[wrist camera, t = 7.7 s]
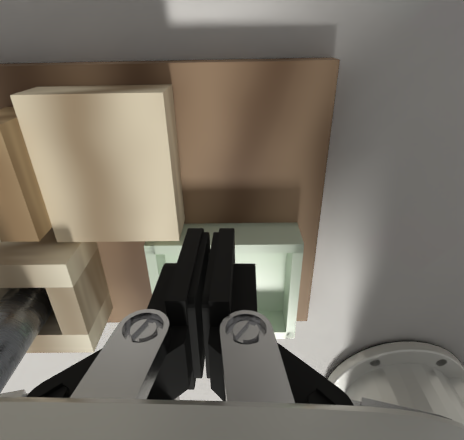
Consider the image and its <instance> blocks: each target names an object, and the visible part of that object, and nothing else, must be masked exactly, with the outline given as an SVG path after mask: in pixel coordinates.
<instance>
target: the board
mask: <svg viewBox="0 0 464 440" xmlns="http://www.w3.org/2000/svg"><path fill="white" fill-rule="evenodd" d="M339 61H340V60H338V59H335V58H279V59H225V60H171V61H117V62H64V63H10V64H0V240H1V242H34V241H40V240H41V239H42V238H43V237H44V236H45V235H46V234H47V232H48V231H49V230H50V229H51V228H52V225H51V222H50V218H49V215H48V212H47V209H46V206H45V203H44V200H43V197H42V194H41V190H40V187H39V184H38V181H37V178H36V175H35V172H34V169H33V166H32V162H31V159H30V156H29V153H28V150H27V147H26V144H25V141H24V138H23V135H22V131H21V128H20V125H19V122H18V119H17V116H16V113H15V110H14V107H13V103H12V100H11V97H10V95H12V94H15V93H18V92H22V91H25V90H28V89H32V88H35V87H49V86H106V85H163V84H172V91H173V101H174V112H175V122H176V132H177V142H178V153H179V163H180V173H181V183H182V193H183V204H184V214H185V221H184V224H205V223H294V222H297V223H298V227H299V230H300V233H301V236H302V239H303V242H304V250H303V260H302V270H301V279H300V289H299V299H298V308H297V318H296V321H307V317H308V309H309V301H310V293H311V285H312V277H313V269H314V261H315V253H316V245H317V237H318V229H319V221H320V213H321V205H322V197H323V189H324V181H325V173H326V165H327V157H328V149H329V141H330V133H331V125H332V117H333V109H334V101H335V93H336V85H337V77H338V69H339ZM145 242H146V241H127V242H97V246H98V250H99V254H100V258H101V262H102V266H103V269H104V273H105V277H106V281H107V285H108V289H109V293H110V297H111V301H112V305H113V309H112V312H111V314H110V316H109V319H108V321H107V322H121V321H122V320H123V318H125V317H126V316H128V315H129V314H131V313H133V312H136V311H138V310H143V309H147V307H148V305H149V302H150V299H151V297H152V291H151V285H150V279H149V274H148V268H147V262H146V256H145V251H144V244H145Z"/></svg>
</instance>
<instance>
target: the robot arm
mask: <svg viewBox="0 0 464 440" xmlns="http://www.w3.org/2000/svg"><path fill="white" fill-rule="evenodd" d="M205 359H206V373H207V378H210V381H211V389H212V390H213V391H214V392H215V393H216V394H217V395H218V396H219V397H220V398H221V399H222V400H223V401H193V400H180V399H179V396H180V395H181V394H182V393H183V392H185V391H186V390H187V389H192V390H194V388H195V381H196V378H202V375H203V368H204V361H205ZM0 440H464V368H463V366H462V365H461V363H460V362H459V360H458V359H457V358H456V357H455V356H454V355H453V354H452V353H450V352H449V351H447V350H445V349H443V348H441V347H439V346H435V345H432V344H429V343H421V342H394V343H386V344H382V345H378V346H374V347H371V348H368V349H366V350H363V351H361V352H359V353H357V354H355V355H353V356H351V357H350V358H348V359H346V360H345V361H344V362H343V363H341V364H340V365H339V366H338V367H337V368H336V369H335V370H334V371H333V372H332V373H331V374H330V376H329V378H328V379H326V378H325V377H324V376H322V375H321V374H320V373H318V372H317V371H315V370H314V369H313V368H311V367H310V366H309V365H307V364H306V363H304V362H303V361H302V360H300V359H299V358H298V357H296V356H295V355H294V354H292V353H291V352H289V351H288V350H287V349H285V348H284V347H283V346H281V345H280V344H278V343H277V341H276V337H275V334H274V331H273V327H272V325H271V323H270V321H269V320H268V319H267V318H266V317H265V316H264V315H262V314H260V313H258V312H257V289H256V266H255V264H243V263H235V229H234V228H219V232H213V238H212V243H211V249H210V234H209V232H204V229H203V228H188V229H187V233H186V236H185V239H184V242H183V245H182V248H181V251H180V255H179V258H178V261H177V263H165V264H164V265H163V267H162V270H161V273H160V275H159V278H158V281H157V283H156V286H155V289H154V291H153V294H152V297H151V299H150V302H149V305H148V307H147V309H143V310H138V311H136V312H133V313H131V314H129V315H128V316H126V317H125V318H123V320H122V321H121V322H120V323H119V324H118V326H117V327H116V329H115V330H114V332H113V333H112V335H111V336H110V338H109V339H108V341H107V342H106V344H105V345H104V347H103V348H102V349H101V350H99V351H97V352H95V353H94V354H92V355H90V356H88V357H87V358H85V359H83V360H81V361H80V362H78V363H76V364H74V365H73V366H71V367H69V368H67V369H65V370H64V371H62V372H60V373H58V374H57V375H55V376H53V377H51V378H50V379H48V380H46V381H44V382H43V383H41V384H40V385H38V386H37V387H36V388H34V389H33V390H32V391H31V392H30V393H28V394H26V392H25V390H19V391H13V392H8V393H2V394H0Z"/></svg>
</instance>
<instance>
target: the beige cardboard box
mask: <svg viewBox="0 0 464 440" xmlns="http://www.w3.org/2000/svg"><path fill="white" fill-rule="evenodd" d="M10 97H11V100H12V103H13V107H14V110H15V113H16V116H17V119H18V122H19V125H20V128H21V131H22V135H23V138H24V141H25V144H26V147H27V150H28V153H29V156H30V159H31V162H32V166H33V169H34V172H35V175H36V178H37V181H38V184H39V187H40V190H41V194H42V197H43V200H44V203H45V206H46V209H47V212H48V215H49V218H50V222H51V225H52V228H53V231H54V234H55V237H56V240H57V242H127V241H180V237H181V233H182V229H183V225H184V221H185V214H184V204H183V193H182V183H181V173H180V163H179V153H178V142H177V132H176V122H175V112H174V101H173V91H172V84H163V85H106V86H49V87H35V88H32V89H28V90H25V91H22V92H18V93H15V94H12V95H10Z"/></svg>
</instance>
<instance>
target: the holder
mask: <svg viewBox="0 0 464 440" xmlns="http://www.w3.org/2000/svg"><path fill="white" fill-rule="evenodd" d="M10 288H45V289H46V292H47V294H48V297H49V300H50V302H51V305H52V308H53V311H52V313H51V315H50V316H49V318H48V319H47V321H46V322H45V324H44V325H43V327H42V329H41V330H40V332H39V333H38V335H37V336H36V338H35V340H34V341H33V343H32V344H31V346H30V347H29V349H28V350H27V352H26V353H75V352H94V351H95V349H96V346H97V344H98V342H99V339H100V337H101V335H102V333H103V330H104V328H105V326H106V323H107V321H108V319H109V316H110V314H111V312H112V309H113V305H112V301H111V297H110V293H109V289H108V285H107V281H106V277H105V273H104V269H103V266H102V262H101V258H100V254H99V250H98V246H97V242H57V240H56V237H55V234H54V231H53V228H51V229H50V230H49V231H48V232H47V234H46V235H45V236H44V237H43V238H42V239H41V240H40V241H34V242H1V240H0V300H1V298H2V297H3V296H4V295H5V294H6V293H7V291H8V290H9V289H10Z"/></svg>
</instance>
